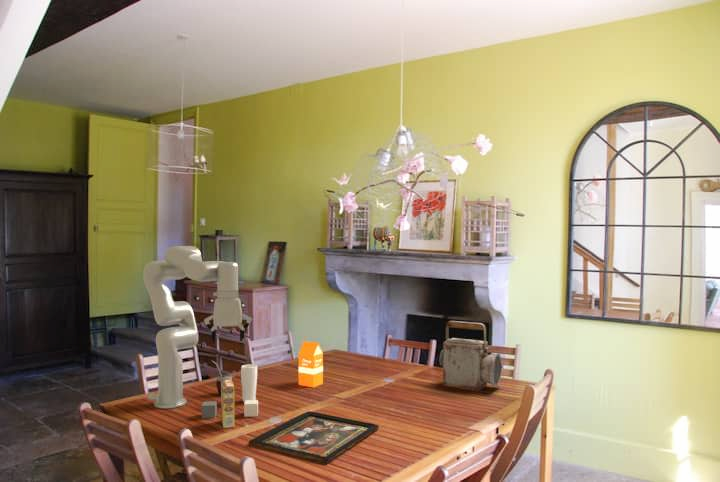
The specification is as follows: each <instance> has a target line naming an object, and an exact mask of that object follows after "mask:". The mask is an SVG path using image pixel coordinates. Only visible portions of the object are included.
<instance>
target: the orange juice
mask: <svg viewBox="0 0 720 482" xmlns="http://www.w3.org/2000/svg"><path fill="white" fill-rule="evenodd" d="M323 358H324V353H323V351H322V348H321V346H320V344H319V342H313V341H306V340H304V341H303V342H302V345H301V348H300V350H299V353H298V385H299V386H304V387H310V388H316V387H318V386H320V385H323V384H324V359H323Z"/></svg>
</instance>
